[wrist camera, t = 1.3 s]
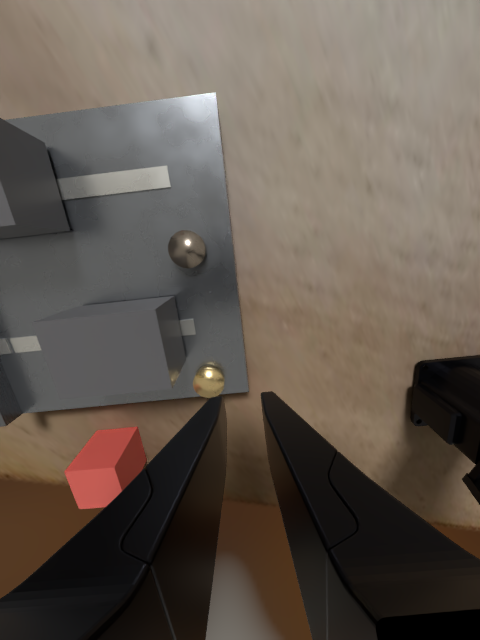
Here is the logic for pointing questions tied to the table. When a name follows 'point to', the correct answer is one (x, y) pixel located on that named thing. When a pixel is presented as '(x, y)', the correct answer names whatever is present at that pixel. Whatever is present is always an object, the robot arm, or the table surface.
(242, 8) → the table surface
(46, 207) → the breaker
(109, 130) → the breaker panel
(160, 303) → the block
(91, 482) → the cap
